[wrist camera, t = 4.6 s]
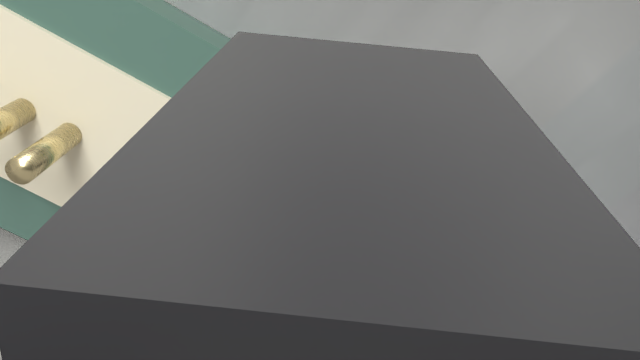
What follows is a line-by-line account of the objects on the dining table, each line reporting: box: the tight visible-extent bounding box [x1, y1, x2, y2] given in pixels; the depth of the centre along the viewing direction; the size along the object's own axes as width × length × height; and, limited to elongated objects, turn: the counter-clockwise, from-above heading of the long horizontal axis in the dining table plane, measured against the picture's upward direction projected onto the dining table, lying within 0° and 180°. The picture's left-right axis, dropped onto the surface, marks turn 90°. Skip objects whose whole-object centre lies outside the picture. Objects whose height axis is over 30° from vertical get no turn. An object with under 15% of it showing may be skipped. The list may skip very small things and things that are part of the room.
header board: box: [0, 0, 231, 240], centre depth 19 cm, size 18×10×2 cm, turn 61°
